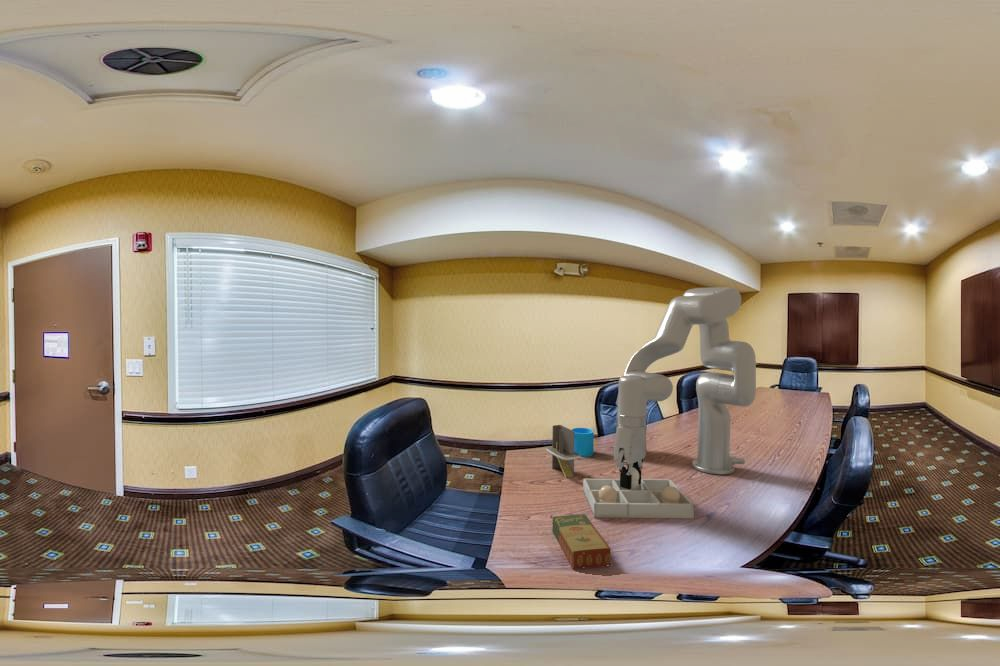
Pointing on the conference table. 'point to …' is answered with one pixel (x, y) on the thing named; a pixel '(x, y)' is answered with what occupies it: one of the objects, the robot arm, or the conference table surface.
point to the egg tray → (636, 500)
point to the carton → (581, 541)
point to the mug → (583, 441)
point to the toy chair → (563, 450)
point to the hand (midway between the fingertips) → (630, 484)
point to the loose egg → (634, 479)
